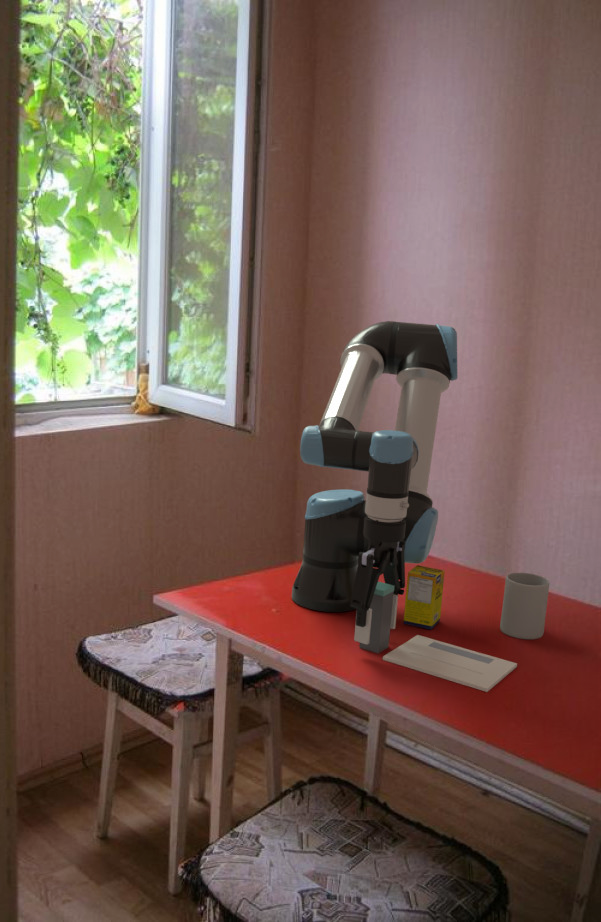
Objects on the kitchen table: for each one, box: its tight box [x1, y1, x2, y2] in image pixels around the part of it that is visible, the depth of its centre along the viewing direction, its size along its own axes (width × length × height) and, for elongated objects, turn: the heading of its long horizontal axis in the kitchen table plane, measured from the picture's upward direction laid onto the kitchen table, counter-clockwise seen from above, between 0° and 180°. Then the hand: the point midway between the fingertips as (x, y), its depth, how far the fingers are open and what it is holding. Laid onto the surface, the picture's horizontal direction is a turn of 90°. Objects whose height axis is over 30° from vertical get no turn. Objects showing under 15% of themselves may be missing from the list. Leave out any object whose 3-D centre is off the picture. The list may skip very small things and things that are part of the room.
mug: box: [499, 572, 550, 640], centre depth 191 cm, size 12×8×11 cm
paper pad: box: [382, 634, 518, 693], centre depth 172 cm, size 20×14×1 cm
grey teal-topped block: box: [358, 580, 394, 654], centre depth 175 cm, size 4×4×12 cm
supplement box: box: [403, 564, 446, 630], centre depth 190 cm, size 6×6×11 cm
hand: (375, 634), depth 176 cm, fingers open, 9 cm apart
